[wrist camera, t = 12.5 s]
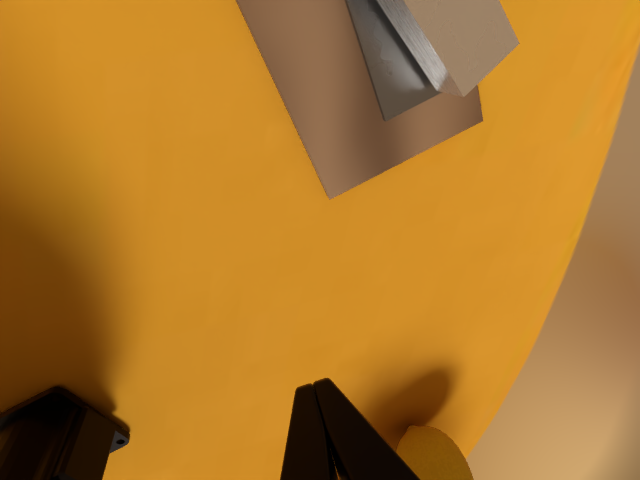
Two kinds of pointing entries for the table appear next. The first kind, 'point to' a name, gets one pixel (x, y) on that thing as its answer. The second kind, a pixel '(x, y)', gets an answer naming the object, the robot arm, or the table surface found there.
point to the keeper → (388, 60)
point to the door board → (344, 94)
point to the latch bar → (453, 38)
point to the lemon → (432, 455)
